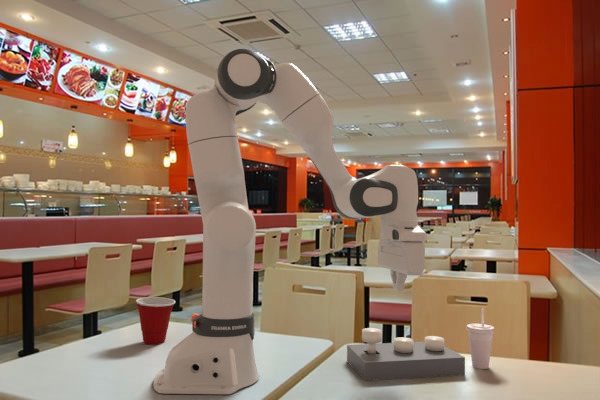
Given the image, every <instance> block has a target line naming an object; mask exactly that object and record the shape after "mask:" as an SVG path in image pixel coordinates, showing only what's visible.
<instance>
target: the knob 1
mask: <svg viewBox="0 0 600 400" xmlns="http://www.w3.org/2000/svg"><path fill="white" fill-rule="evenodd" d="M382 331H383V330H382V329H380V328H376V327H367V328H366V327H365V328H362V329H361V341H362V342H363V343H366V344H368V355H372V354H376V344H380V343H382V341H383V340H382V339H383V337H382V333H383V332H382Z"/></svg>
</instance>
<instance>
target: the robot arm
mask: <svg viewBox="0 0 600 400" xmlns="http://www.w3.org/2000/svg"><path fill="white" fill-rule="evenodd" d="M217 67H218V68H217V72H216V74H215V79H214V85H213V88H212V89H210V90H208V91H202V92H198V93H196V94H194V95H192V96H191V97H190V98H189V99H188V100H187V102H186V105H185V129H186V130H185V132H186V139H187V144H188V150H189V157H190V161H191V167H192V174H193V179H194V183H195V188H196V194H197V199H198V200H197V201H198V204H199V211H200V215H201V216H200V217H201V221H202V225H203V226H202V232H203V233H202V292H201V293H202V299H201V300H202V301H201V302H202V303H201V306H202V307H201V308H202V309H201V314H200V313H197V312H194V313H193V314H192V315H191V318H190V321H191V323H192V326H191V329H192V332H191V333H189V334H188V335H187V336H186V337H184V339H182V340H181V341H180V342H178V343H177V344H176V345H174V346H173V347H172V348H171V349H170V351H169V353H168V354H167V357H166V360H165V365H164V368H163V369H161V370H160V371H158V372H157V373H156V374H155V376H154V379H153V387H152V388H153V389H154V391H155V392H156V393H158V394H166V395H167V394H171V395H172V394H174V395H175V394H177V395H179V394H180V395H231V394H234V393H235V392H237V391H239V390H240V389H243V388H246V387H248V386H251V385H253V384H255V383H256V382H258V380H259V378H260V375H259V372H258V367H257V363H256V359H255V358H256V355H255V349H254V348H255V347H254V340H255V333H256V332H255V331H256V326H255V325H256V323H255V321H256V320H255V315H254V313H253V299H254V298H253V291H254V290H253V289H254V287H253V285H254V283H253V282H254V280H253V279H254V267H255V257H256V255H255V253H256V237H257V235H256V234H257V224H256V220H255V217H254V215H253V213H252V212H251V211H250V209H249V203H248V196H247V188H246V187H247V186H246V180H245V169H244V163H243V160H242V153H241V149H240V142H239V137H238V132H237V129H236V128H237V127H236V116H239V115H241V114H243V113H245V112H247V111H249V110H250V109H252V108H253V107H254V106H256V104H257V103H258V102H259V103H261V104H265V105H266V106H268V107H270V109H271V110H272V111H274V113H275V114H276V116H277V118H278V119H279V120H280V122H281V123H282V125H283V126H284V127H285V129H286V130H287V131H288V132H289V134H290V135H291V136H292V137H293V139H294V140H295V141H296V142H297V143H298V145H299V146H300V147H301V148H302V150H303V151H304V152H305V154H306V155H307V156H308V157H309V160H310V161H311V162H312V163H313V165H314V167H315V168H316V170H317V171H318V174H320V176H321V177H322V179H323V181H324V182H325V184H326V185H327V187H328V190H329V192H330V194H331V199H332V205H333V207H334V209H335V210H336V212H337V213H338V214H339V215H340V216H341V217H343V218H345V219H348V220H358V219H368V218H369V219H370V218H374V217H377V216H379V217H380V238H379V242H378V247H377V248H378V249H377V251H378V252H377V264H378V267H381V268H384V269H388V270H390V278H391V280H392V281H391V282H392V289H393V290H395V291H398V292H401V291H402V292H403V291H404V290H405V283H406V280H407V278H408V276H422V275H423V272H424V270H425V259H426V256H425V255H426V250H425V249H426V247H425V242H427V233H426V231H425V230H424V229H423V228H421V227H420V225H419V218H418V213H417V209H418V208H417V207H418V204H419V186H418V178H417V177H418V176H417V173H416V172H415V170H414V169H412V168H411V167H409V166H406V165H402V164H394V163H392V164H391V163H390V164H386V165H385V166H383V167H382V168H381V169H380V170H378V171H376V172H374V173H371V174H368V175H367V176H363V177H359V178H356V177H354V176H352V174H350V173H349V171H348V169H347V168H346V166H345V165H344V163H343V162H342V160H341V158H340V157H339V154H338V153H337V152H336V150H335V148H334V145H333V140H332V139H333V129H334V122H335V121H334V116H333V114H332V112H331V110H330V107H329V106H328V104H327V102H326V100H325V99H324V97H323V96H322V94H321V93H320V92H319V90H318V89H317V88H316V87H315V85H314V83H312V81H310V79H309V78H308V77H307V76H306V75H305V74H304V73H303V72H302V71H301V70H300V69H299V68H298V67H297V66H296V65H295V64H293V63H291V62H281V63H279V64H276V65H274V63H273V62H272V61H270V60H268V59H266V58H264V57H262V56H261V55H260V54H258V53H257V52H255V51H252V50H250V49H247V48H246V49H245V48H237V49H234V50H232V51H230V52H228V53H227V54H225V56H223V58H222V59H221V60H220V62H219V64H218V66H217Z"/></svg>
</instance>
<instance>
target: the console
mask: <svg viewBox="0 0 600 400" xmlns="http://www.w3.org/2000/svg"><path fill="white" fill-rule="evenodd" d="M347 361H348V362H349V363H350V364H351V365H350V364H349V363H348V362H347ZM346 362H347V363H348V364H349V365H350V367H352V368H353V369H354V370H355V372H356V373H357V372H358V373H357V374H358V375H359V376H360V377H361V379H362V380H364V381H365V382H366V381H367V382H368V381H369V382H370V381H386V380H402V379H417V378H436V377H451V376H452V377H453V376H466V357H465V356H464V355H461V354H460V353H458V352H457V351H456V350H455V351H454V350H452V349H451V348H449V347H447V346H445V345H444V350H443V351H435V352H431V351H430V350H427V349H425V341H413V352H410V353H399V352H397V351H395V350H394V342H385V343H382V342H380V343H376V354H372V355H368V343H364V344H363V343H362V344H347V345H346Z"/></svg>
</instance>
